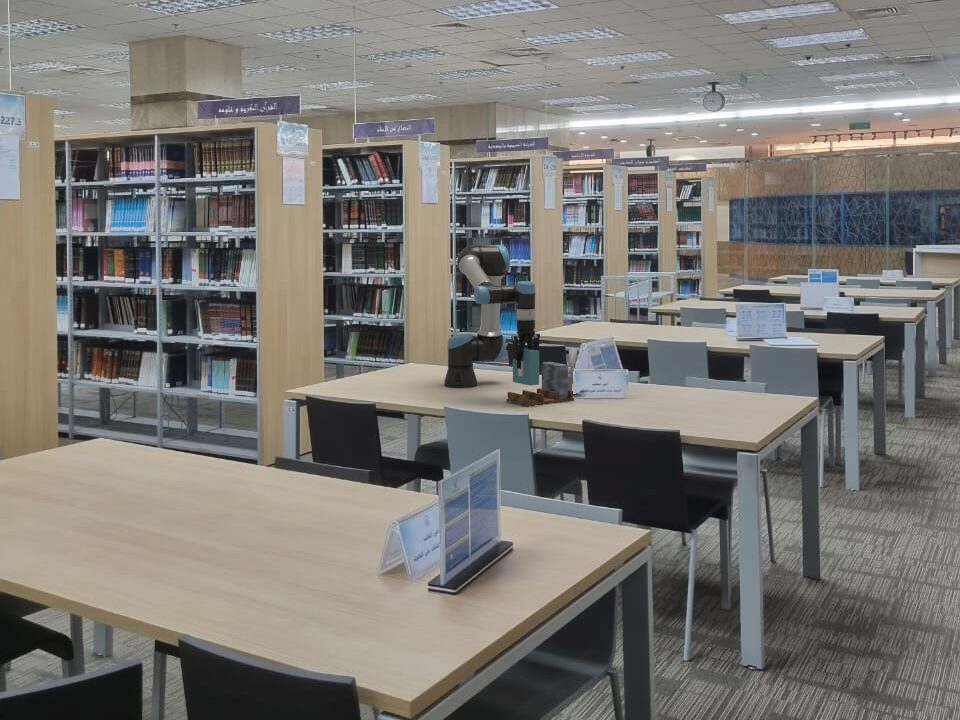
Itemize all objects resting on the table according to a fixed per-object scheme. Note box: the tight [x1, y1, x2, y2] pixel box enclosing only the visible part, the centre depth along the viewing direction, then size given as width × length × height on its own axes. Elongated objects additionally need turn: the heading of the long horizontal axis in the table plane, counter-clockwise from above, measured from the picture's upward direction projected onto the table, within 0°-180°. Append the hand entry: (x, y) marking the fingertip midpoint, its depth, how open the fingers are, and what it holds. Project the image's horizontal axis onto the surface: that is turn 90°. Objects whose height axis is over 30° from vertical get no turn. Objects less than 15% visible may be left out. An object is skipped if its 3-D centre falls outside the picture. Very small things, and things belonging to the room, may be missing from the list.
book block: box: [512, 347, 540, 387], centre depth 404 cm, size 12×4×14 cm, turn 35°
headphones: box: [568, 347, 579, 390], centre depth 428 cm, size 19×9×20 cm, turn 171°
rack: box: [505, 361, 575, 408], centre depth 409 cm, size 14×25×15 cm, turn 125°
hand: (525, 375), depth 404 cm, fingers closed on book block, 4 cm apart
